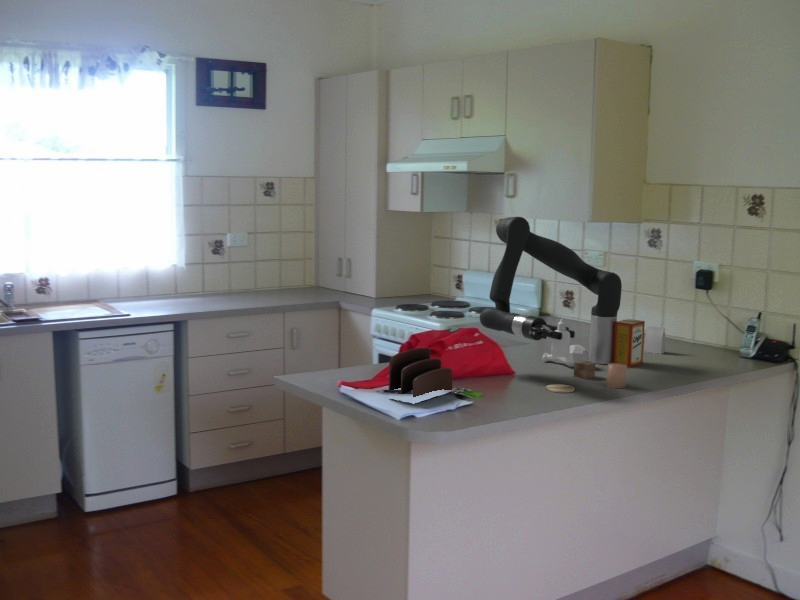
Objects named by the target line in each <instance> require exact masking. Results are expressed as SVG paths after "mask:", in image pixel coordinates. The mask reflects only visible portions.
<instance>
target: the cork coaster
mask: <svg viewBox="0 0 800 600" xmlns="http://www.w3.org/2000/svg"><path fill="white" fill-rule="evenodd" d="M545 390H546V391H549V392H551V393H556V394H558V393H559V394H569V393H574V392H575V387H574V386H572V385H567V384H562V383H561V384H560V383H559V384H558V383H557V384H556V383H554V384H548V385H546V386H545Z"/></svg>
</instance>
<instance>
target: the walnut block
mask: <svg viewBox="0 0 800 600" xmlns="http://www.w3.org/2000/svg"><path fill="white" fill-rule="evenodd" d="M595 374H596V363H593V362H590V361H589V360H588V361H584V360H583V361H578V362H574V367H573V377H574V378H578V379H582V380H583V379H584V380H588V379H593V378H595V377H596V375H595Z"/></svg>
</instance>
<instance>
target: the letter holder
mask: <svg viewBox="0 0 800 600" xmlns="http://www.w3.org/2000/svg"><path fill="white" fill-rule="evenodd" d="M398 388H401V394H404V393H407V392H409V391H411V390H413V397H416V396H419V395H423V394H425V393H429V392H432V391H437V390H442V389H444V390H453V369H452V368H450V367H442V360H441V358H431V349H430V348H429V347H416V348H412V349H407V350H404V351H401V352H400V353H396V354H394V355H392V356H391V357H390V358H389V364H388V392H389V391H390V390H394V389H398Z"/></svg>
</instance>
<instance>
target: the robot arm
mask: <svg viewBox="0 0 800 600" xmlns="http://www.w3.org/2000/svg"><path fill="white" fill-rule="evenodd" d="M530 227H531V226H530V223H529V221H528V220H527V219H526V218H524V217H522V216H512V217H511V216H509V217H506V218H503V219H501V220H499V221H498V222H497V224H496V227H495V233H496V236H497V238H499V240H500V241H501V242H503V243H504V244H506V246H505V250H504V254H503V257H502V259H501V261H500V263H499V264H498V266H497V269H496V271H495V273H494V276H493V279H492V282H491V287H490V292H489V300H490V301H491V302H493V303H494V305H495V308H492V307H486V308H484V309H483V310H482V311H481V312H480V313H479V322H480V324H481V326H482V327H484V328H485V329H488V330H493V331H497V332H504V333H507V334H510V335H514V336H518V337H520V338H523V339H524V338H525V339H529V340H532V341H540V340H542V339H543V340H545V339H551V340H552V338H554V339H558V340H561V339H562V333H561V332H556V331H555V330H558V324H556V325H554V324H551V323H546V320H545V319H544V318H542V317H538V316H534V315H529V314H521V313H520V314H519V313H515V312H511V303H510V302H511V301H510V298H511V295H512V294H511V293H512V289H513V285H514V280H515V277H516V273H517V270H518V266H519V263H520V261H521V258H522V254H523V252H525V253H527V254H528V255H529V256H531V257H532V258H534V259H536V261H538V262H540V263H542V264H544V265H545V266H547V267H548V268H550V269H552V270H554V271H556V272H557V273H559V274H561V275H563V276H565V277H567V278H570V279H571V280H574V281H576V282H578V283H579V284H581V286H583V287H585V288H586V289H588V290H589V291H590V292H591V293H593V294H594V295H597V302H596V304H595V305H594V306H592V307H591V311H590V314H591V315H590V331H589V332H590V334H588V349H587V351H588V354H589V358H588V361H589V362H593V363H595V364H597V365H598V364H599V365H600V364H601V365H608V364H609V363H613V356H614V336H615V322H617V321H618V311H619V309H620V306H621V299H622V290H623V289H622V288H623V287H622V279H621V277H620V276H619V275H618V274H617V273H615V272H612V271H607V270H602V269H599V268H597V267H594V266H592V265H591V264H588V262H585V261H584V260H583V259H582V258H581V257H580V256H579V255H578V254H577V253H576V252H575V251H574V250H572V249H571V248H569V247H568V246H566V245H564V244H562V243H561V242H559V241H556V240H554V239H550V238H547V237H544V236H541V235H538V234H536V233H533V232H532V231H531V228H530ZM565 330H566V331H568V332H569V333H570V339H574V338H576V337H575V334H576V332H575V330H571V329H570V327H568V326H566V327H565Z"/></svg>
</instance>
